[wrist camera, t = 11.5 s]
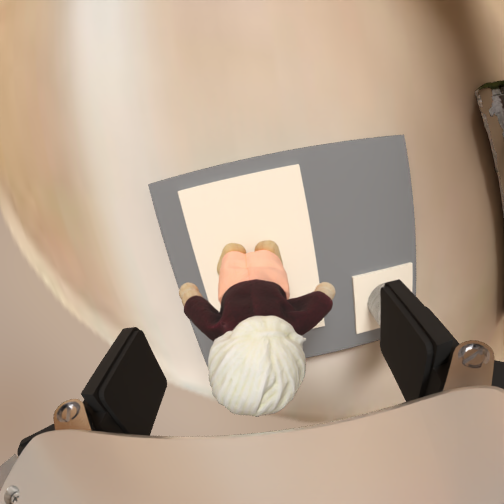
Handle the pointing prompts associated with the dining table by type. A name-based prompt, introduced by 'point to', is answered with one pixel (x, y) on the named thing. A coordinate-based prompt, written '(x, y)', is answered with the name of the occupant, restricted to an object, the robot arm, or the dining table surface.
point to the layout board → (300, 227)
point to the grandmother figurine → (255, 329)
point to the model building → (500, 106)
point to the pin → (375, 303)
